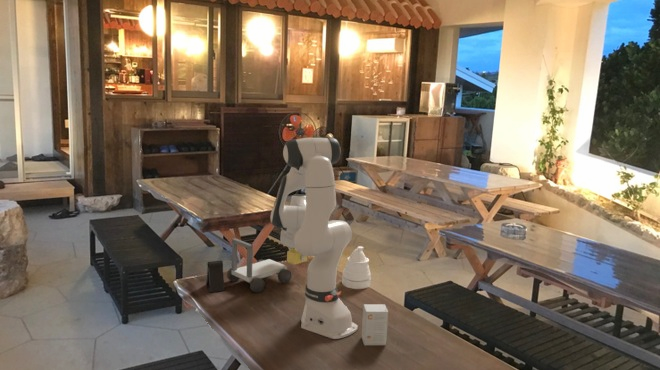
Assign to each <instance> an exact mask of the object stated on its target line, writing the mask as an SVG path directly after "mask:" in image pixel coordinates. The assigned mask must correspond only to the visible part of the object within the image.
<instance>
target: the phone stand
mask: <svg viewBox="0 0 660 370" xmlns="http://www.w3.org/2000/svg"><path fill="white" fill-rule="evenodd" d="M206 264H207V267H206V268H207V271H206V278H205V286H206V287H207V289H208V290H209V293H216V292H217V293H218V292H224V291H225V280H224V279H225V277H224V263H223V261H222V260H215V261H214V260H213V261H208V262H207V263H206Z"/></svg>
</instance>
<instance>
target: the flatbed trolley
mask: <svg viewBox="0 0 660 370" xmlns="http://www.w3.org/2000/svg"><path fill="white" fill-rule="evenodd" d="M238 246H240V247H243V248H245V249H246V265H243V266H240V267H238ZM237 267H238V268H237ZM272 275H277V279H278V281H279V282H281V283H283V284H288V283H289V282H290V281H291V280H292V275H293V274H292V271H291V270H289V269H288V265H285V264H283V263H281V262H278V261H276V260H273V259H270V258H268V259H262V258H261V259H259V260H257V261H256V262H255V263H253V244H251V243H248V242H247V241H243V240H241V239H238V238H231V268H229V270H227V274H226V278H227V280H229V281H231V282H234V283H235V282H238V281H239V280H242V281H244V282H247V283H248V284H249V289H250V291H252V292H254V293H255V294H257V293H258V294H259V293H261V292H262V291H263V290H264V288H265V280H264V279H265V278H266V277H270V276H272ZM263 278H264V279H263Z"/></svg>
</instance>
